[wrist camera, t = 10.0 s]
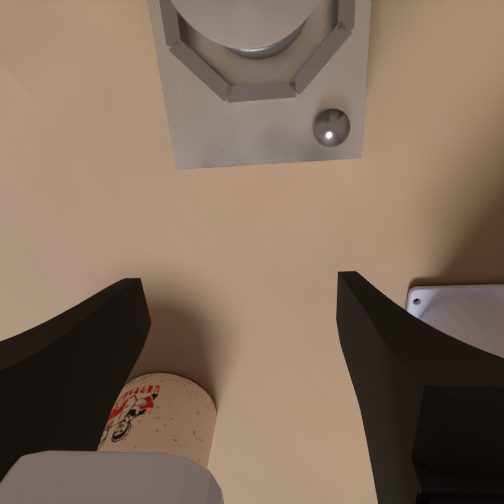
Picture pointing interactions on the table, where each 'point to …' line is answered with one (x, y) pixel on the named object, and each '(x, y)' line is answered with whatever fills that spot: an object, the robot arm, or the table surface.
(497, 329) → the robot arm
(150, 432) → the teacup with lid
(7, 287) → the table surface
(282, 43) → the cup
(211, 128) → the square base socket
